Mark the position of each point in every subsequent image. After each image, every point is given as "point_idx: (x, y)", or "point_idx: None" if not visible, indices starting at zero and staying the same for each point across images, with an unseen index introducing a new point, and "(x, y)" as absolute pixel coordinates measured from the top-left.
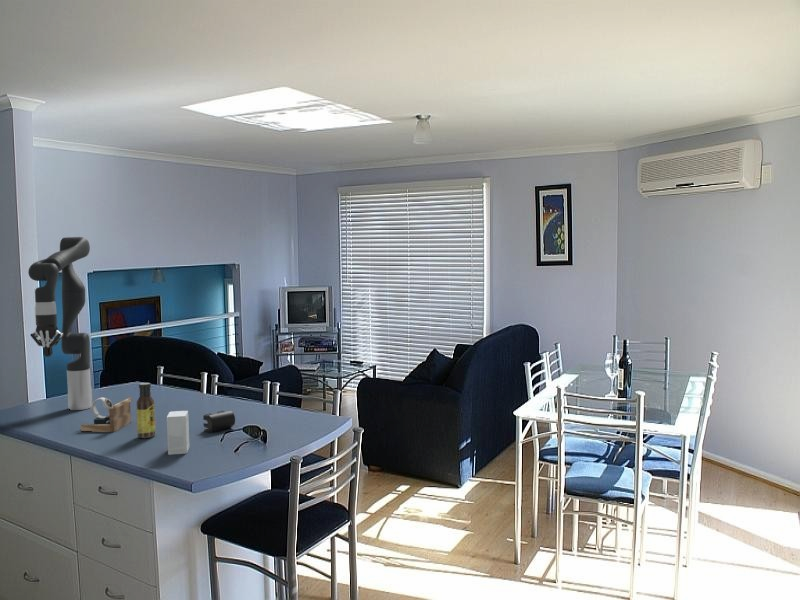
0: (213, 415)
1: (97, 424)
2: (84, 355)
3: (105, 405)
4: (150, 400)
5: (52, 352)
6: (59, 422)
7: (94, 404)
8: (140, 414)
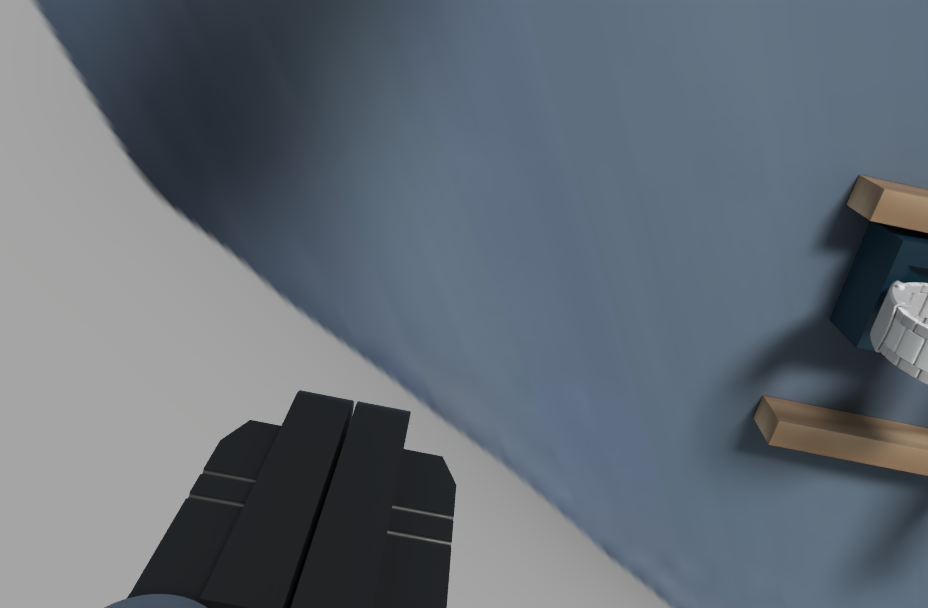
0: None
1: (887, 444)
2: None
3: None
4: None
5: (452, 506)
6: (516, 109)
7: (917, 324)
8: None
